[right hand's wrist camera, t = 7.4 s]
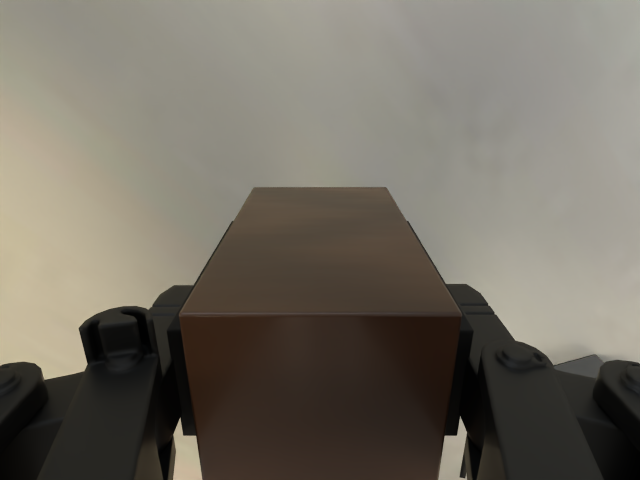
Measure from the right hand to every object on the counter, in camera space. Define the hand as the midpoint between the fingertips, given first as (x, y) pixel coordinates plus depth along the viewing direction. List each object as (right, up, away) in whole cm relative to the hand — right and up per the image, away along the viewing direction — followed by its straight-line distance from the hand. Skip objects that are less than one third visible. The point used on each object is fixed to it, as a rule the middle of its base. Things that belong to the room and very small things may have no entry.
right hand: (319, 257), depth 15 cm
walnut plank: (0, -10, +4) cm, 11 cm away
